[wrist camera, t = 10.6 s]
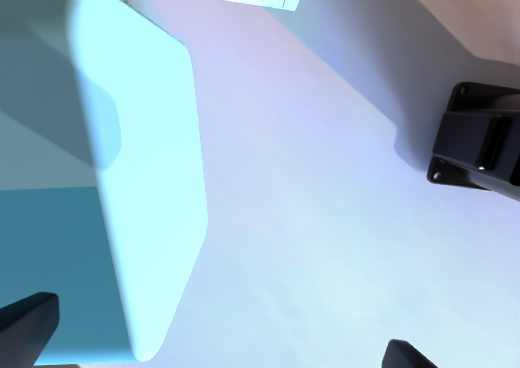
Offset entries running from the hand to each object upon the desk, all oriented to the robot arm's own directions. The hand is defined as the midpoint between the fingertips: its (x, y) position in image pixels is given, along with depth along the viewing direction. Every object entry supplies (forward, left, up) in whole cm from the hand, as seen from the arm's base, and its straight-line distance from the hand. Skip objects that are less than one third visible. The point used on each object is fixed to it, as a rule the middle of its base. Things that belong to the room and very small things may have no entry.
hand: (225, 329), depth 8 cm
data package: (+6, -2, -13) cm, 14 cm away
